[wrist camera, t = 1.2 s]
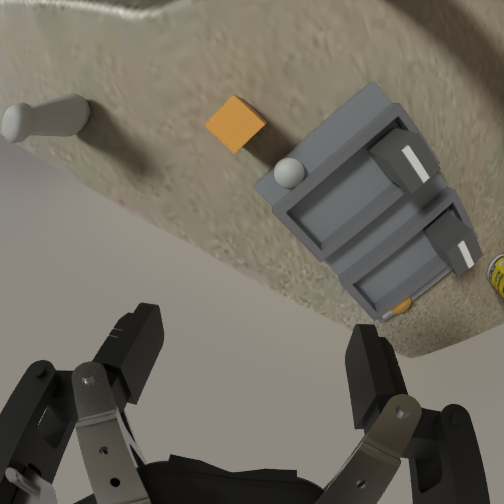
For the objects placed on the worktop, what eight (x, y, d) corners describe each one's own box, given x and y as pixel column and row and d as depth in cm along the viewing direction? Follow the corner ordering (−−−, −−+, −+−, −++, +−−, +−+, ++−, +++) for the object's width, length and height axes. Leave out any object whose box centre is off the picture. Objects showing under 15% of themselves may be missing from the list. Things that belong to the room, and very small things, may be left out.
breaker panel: (368, 81, 27) (379, 78, 23) (470, 242, 33) (484, 254, 30) (253, 182, 33) (250, 190, 30) (378, 315, 40) (385, 333, 37)
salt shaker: (98, 128, 32) (28, 143, 20) (67, 138, 32) (-1, 158, 21) (93, 87, 29) (22, 88, 17) (62, 100, 30) (-7, 109, 18)
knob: (391, 127, 27) (419, 133, 20) (412, 156, 28) (442, 169, 21) (365, 149, 28) (388, 160, 22) (387, 177, 29) (412, 195, 23)
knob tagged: (443, 208, 30) (473, 230, 24) (456, 231, 31) (484, 256, 25) (421, 228, 31) (447, 254, 25) (434, 250, 32) (459, 278, 26)
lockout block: (242, 98, 29) (234, 94, 24) (267, 122, 30) (265, 124, 25) (217, 123, 31) (204, 125, 25) (242, 147, 32) (234, 153, 26)
